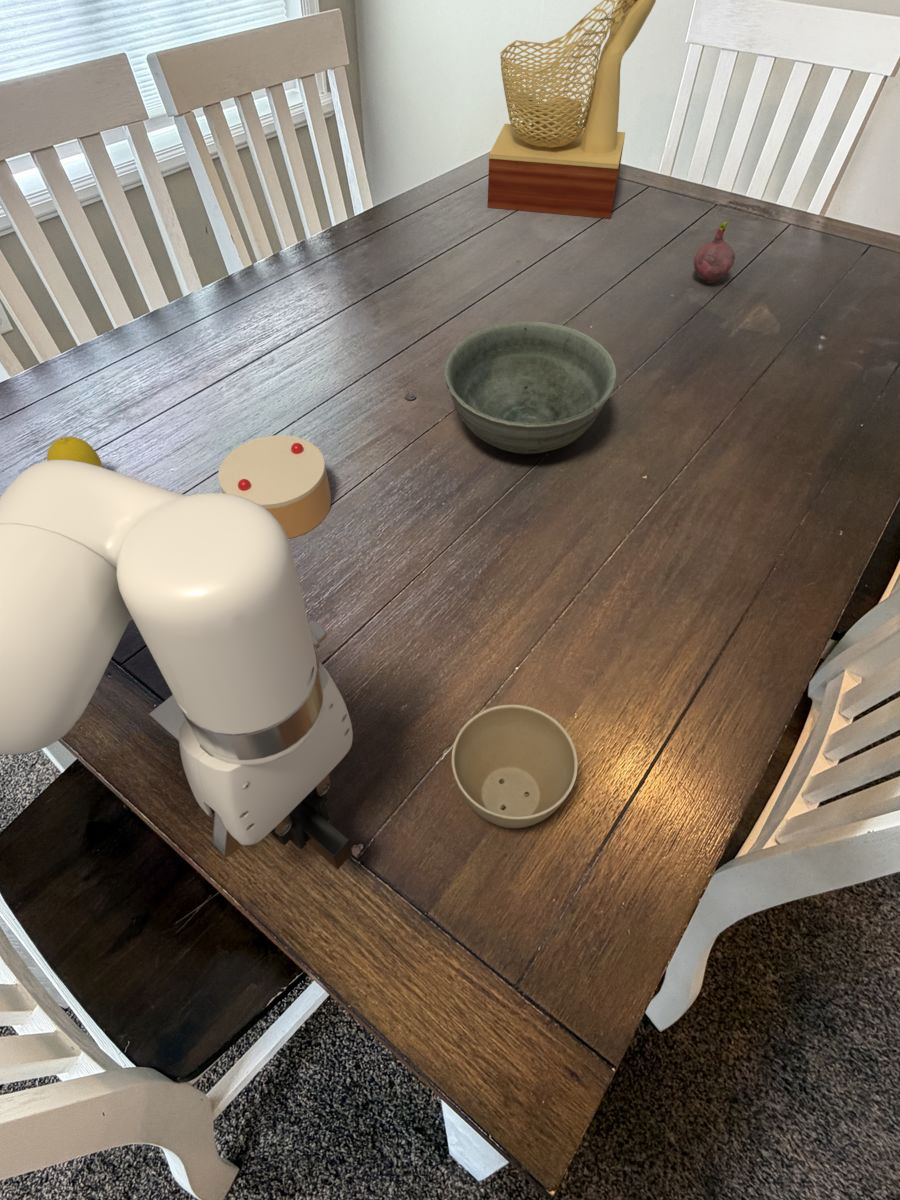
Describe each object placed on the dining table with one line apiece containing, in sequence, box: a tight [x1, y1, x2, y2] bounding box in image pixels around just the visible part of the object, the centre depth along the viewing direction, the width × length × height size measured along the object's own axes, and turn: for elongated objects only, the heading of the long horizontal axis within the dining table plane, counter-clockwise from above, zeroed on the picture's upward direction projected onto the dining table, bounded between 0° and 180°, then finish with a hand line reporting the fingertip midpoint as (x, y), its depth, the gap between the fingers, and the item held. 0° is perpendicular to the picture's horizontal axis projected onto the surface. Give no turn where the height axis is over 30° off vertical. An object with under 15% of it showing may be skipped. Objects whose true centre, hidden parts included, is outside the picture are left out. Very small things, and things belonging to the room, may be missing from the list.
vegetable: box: [693, 221, 736, 284], centre depth 116 cm, size 6×6×10 cm
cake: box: [217, 434, 332, 540], centre depth 85 cm, size 12×12×6 cm
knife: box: [148, 694, 354, 870], centre depth 56 cm, size 3×21×3 cm, turn 51°
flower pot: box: [451, 704, 579, 829], centre depth 61 cm, size 10×10×7 cm
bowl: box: [443, 320, 617, 455], centre depth 91 cm, size 21×21×10 cm
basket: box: [487, 0, 657, 219], centre depth 128 cm, size 25×18×35 cm
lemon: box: [46, 436, 104, 468], centre depth 86 cm, size 6×6×8 cm
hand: (301, 822), depth 55 cm, fingers closed on knife
